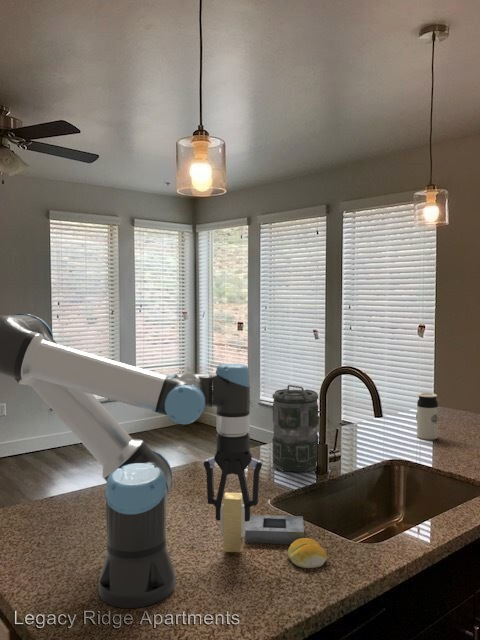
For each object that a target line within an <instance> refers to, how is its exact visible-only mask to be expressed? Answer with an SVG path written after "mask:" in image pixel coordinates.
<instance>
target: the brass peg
mask: <svg viewBox="0 0 480 640" xmlns="http://www.w3.org/2000/svg"><path fill="white" fill-rule="evenodd" d="M222 503H223V536H222V537H223V539H222V547H223V549H222V552H224V553H228V552H229V553H242V549H243V537H241V508H242V504H244V502H243V497H242V492H225V491H224V494H223V499H222Z"/></svg>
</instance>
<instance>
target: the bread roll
mask: <svg viewBox="0 0 480 640" xmlns="http://www.w3.org/2000/svg"><path fill="white" fill-rule="evenodd" d="M289 545H290V546H289V547H288V550H287V556H288V560H290V561H291V562H292V564H294V565H295V566H297V567H300V568H303V569H313V568H320V567H321V566H323V565H324V564H325V562H326V561H327V559H328V553H327V551H326V550H325V549H324V548H323V547H322V546H321V544H320V543H319V542H318V541H316V540H315V539H313V538H308V537H304V538H301V539H298V540H296V541H294V542H293V543H292V544H289Z"/></svg>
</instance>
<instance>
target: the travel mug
mask: <svg viewBox="0 0 480 640" xmlns="http://www.w3.org/2000/svg"><path fill="white" fill-rule="evenodd" d="M417 395H418V400H417V401H416V402H417V403H416V405H417V408H416V409H417V410H416V411H417V412H416V413H417V415H416V416H417V417H416V419H417V421H416V437H418V439H421V440H426V441H428V440H429V441H434V440H436V439H438V437H439V436H438V435H439V433H438V430H439V429H438V425H439V424H438V423H439V421H438V418H439V416H438V413H439V410H438V409H439V407H438V406H439V402H438V401H437V397H438V394H435V393H433V392H432V393H431V392H421V393H417Z"/></svg>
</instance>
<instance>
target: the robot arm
mask: <svg viewBox="0 0 480 640" xmlns="http://www.w3.org/2000/svg"><path fill="white" fill-rule="evenodd" d="M0 375H3V376H5V377H6V376H7V377H11V378H14V380H15V381H16V382H17V383H18V384H19V385H23V386H24V385H26V386H30V387H31V388H32V389H33V390H34V391H35V392H36V393H37V394H38V395H39V397H40V398H41V399H42V400H43V402H45V403H46V405H47V406H49V408H50V409H51V410H52V411H53V412H54V413H55V414H56V415H57V416H58V418H59V419H60V420H61V421H62V422H63V423H64V424H65V426H66V427H67V429H69V430H70V431H71V432H72V433H73V435H74V436H75V437H76V438H77V439H78V440H79V441H80V443H82V445H83V446H84V447H85V448H86V449H87V450H88V451H89V453H90V454H91V455H92V456H93V457H94V458H95V460H97V461H98V463H99V464H100V465H101V466H102V478H103V480H105V483H106V485H105V489H104V495H105V496H104V497H105V509H106V510H105V511H106V512H105V513H106V514H105V518H106V555H105V558H104V562H103V565H102V568H101V571H100V575H99V577H98V595H99V597H100V599H101V600H102V601H103V602H104V603H106V604H108V605H110V606H113V607H117V608H121V609H122V608H123V609H136V608H143V607H149V606H150V605H154V604H156V603H159V602H161V601H162V600H165V599H166V598H167V597H169V596H170V595H171V593H173V591H174V590H175V587H176V572H175V568H174V565H173V563H172V562H173V561H172V560H171V557H170V554H169V550H168V547H167V526H166V525H167V523H166V522H167V520H166V518H167V514H166V513H167V512H166V511H167V510H166V509H167V504H168V500H169V496H170V492H171V491H172V490H171V489H172V487H173V471H172V467H171V465H170V463H169V461H168V459H167V458H166V457H165V456H164V455H163V454H161V453H160V452H158V451H157V450H152V448H150V446H148V445H147V444H146V443H145V441H144V440H143V439H135V438H132V437H131V435H130V434H129V433H128V432H127V431H126V430H125V429H124V428H123V426H122V425H121V424H120V423H119V422H118V421H117V420H116V419H115V418H114V417H113V415H112V414H111V413H110V412H109V411H108V410H107V408H106V407H105V406H104V405H103V404H102V403H101V402H100V401H99V400H98V399H97V397H96V396H98V397H101V398H104V399H108V400H112V401H116V402H120V403H123V404H126V405H129V406H134V407H137V408H140V409H144V410H148V411H151V412H154V413H158V414H161V415H164V416H168V419H170V420H171V421H173V422H174V423H176V424H179V425H189V424H192V423H194V422H196V421H197V420H198V419H199V418H200V417H201V415H202V413H203V412H204V410H205V408H213V407H214V408H216V422H215V423H216V432H217V434H216V450H215V451H216V452H215V455H214V456H212V457H211V458H210V457H209V458H207V457H206V458H205V459H204V461H203V463H202V464H203V467H204V469H205V472H206V494H207V495H206V497H207V504H209V505H213V506H214V507H215V520H216V521H220V522H219V524H220V527H219V529H220V531H219V532H220V535H219V536H220V537H223V498H224V495H225V489H226V484H227V478H228V475H236V476H237V478H238V482H239V486H240V491H241V492H240V493H242V497H243V504H242V508H241V537H242V538H245V525H246V521H248V522H249V520H250V515H251V507H253V506H254V507H256V506H258V502H259V490H260V487H259V486H260V471H261V469H262V466H263V460H262V459H256V458H253V456H252V453H251V450H250V448H251V447H250V446H251V443H250V439H251V438H250V433H249V432H250V427H251V426H250V424H251V421H250V417H251V414H250V407H251V406H250V400H251V395H250V394H251V384H250V383H251V381H250V369H249V367H248V366H247V365H245V364H242V363H222V364H218V365H217V366H216V370H215V372H213V373H181V372H177V373H169V374H166V375H165V374H162V373H158V372H155V371H153V370H152V371H151V370H148V369H145V368H141V367H138V366H135V365H131V364H127V363H124V362H122V361H121V362H120V361H117V360H114V359H110V358H107V357H103V356H99V355H97V354H93V353H90V352H86V351H83V350H79V349H76V348H73V347H69V346H65V345H62V344H58V343H57V341H56V340H55V339H54V335H53V332H52V330H51V328H50V326H49V325H48V324H47V322H45V321H44V320H43V319H42V318H40V317H38V316H35V315H32V314H28V313H21V312H20V313H14V314H9V315H0ZM215 463H216V465H217V466H218V468H219V469H220V470H221V474H220V475H221V476H220V481H219V486H218V490H217V496H215V487H214V486H215V484H214V482H215V481H214V480H215V479H214V467H215ZM250 464H251V469H252V470H253V477H252V479H253V480H252V481H253V482H252V498H250V493H249V489H248V488H249V487H248V484H247V478H246V472H245V470H246V469H247V468H248V466H249V465H250Z"/></svg>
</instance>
